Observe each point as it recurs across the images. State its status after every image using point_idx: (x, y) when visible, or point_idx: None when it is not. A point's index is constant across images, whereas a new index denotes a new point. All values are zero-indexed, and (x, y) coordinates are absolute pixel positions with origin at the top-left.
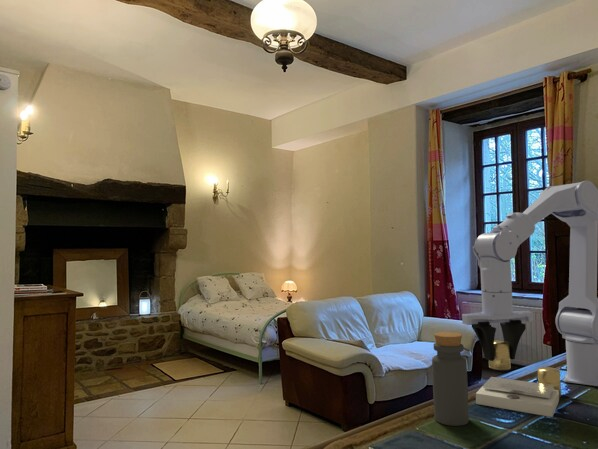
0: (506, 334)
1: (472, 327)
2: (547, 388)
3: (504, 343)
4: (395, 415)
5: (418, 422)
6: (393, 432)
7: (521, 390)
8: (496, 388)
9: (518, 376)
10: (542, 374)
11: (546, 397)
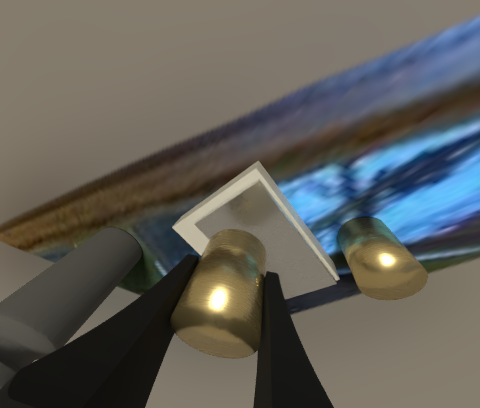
0: (263, 386)
1: (26, 371)
2: (302, 287)
3: (222, 351)
4: (47, 204)
5: (78, 234)
6: (49, 243)
7: None
8: None
9: None
10: (354, 272)
11: None
